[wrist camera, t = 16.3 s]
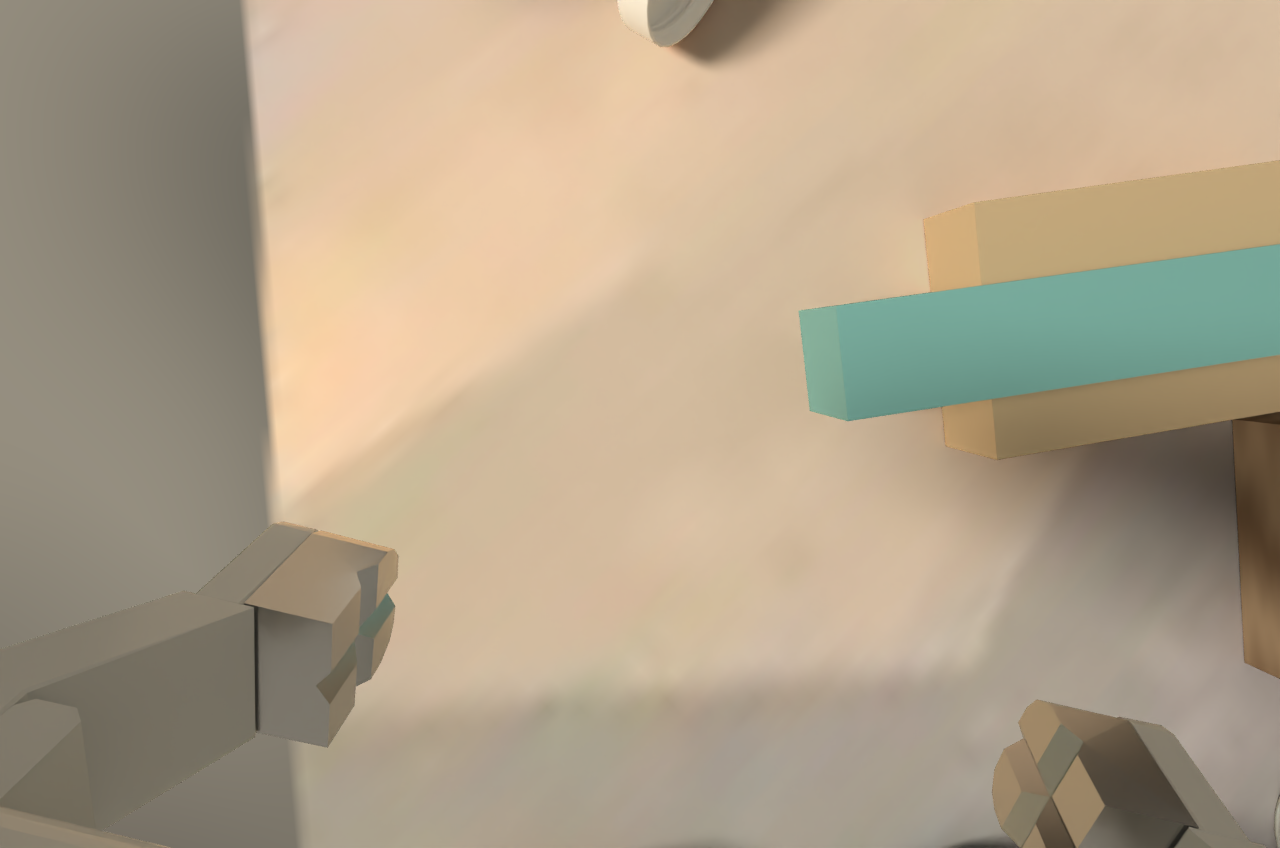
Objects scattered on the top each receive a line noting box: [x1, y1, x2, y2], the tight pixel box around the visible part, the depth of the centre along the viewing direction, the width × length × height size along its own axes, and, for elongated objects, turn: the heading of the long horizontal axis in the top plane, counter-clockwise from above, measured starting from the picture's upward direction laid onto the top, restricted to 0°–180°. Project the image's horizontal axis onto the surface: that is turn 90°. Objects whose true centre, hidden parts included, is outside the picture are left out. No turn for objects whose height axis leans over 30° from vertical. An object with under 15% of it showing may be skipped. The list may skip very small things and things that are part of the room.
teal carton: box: [799, 244, 1280, 421], centre depth 28 cm, size 4×22×4 cm, turn 98°
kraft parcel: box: [924, 160, 1280, 460], centre depth 32 cm, size 10×16×4 cm, turn 98°
